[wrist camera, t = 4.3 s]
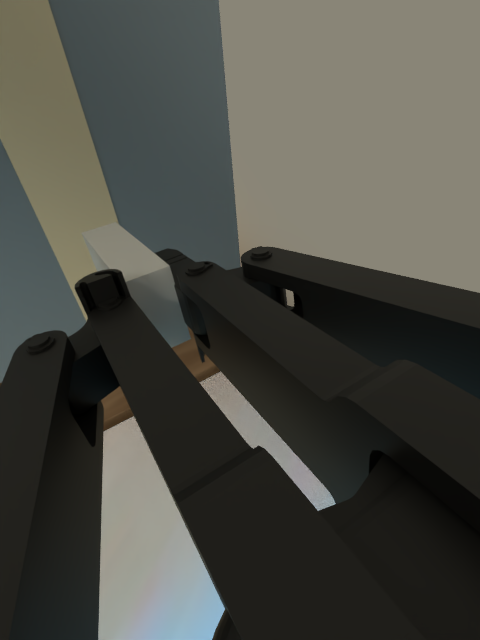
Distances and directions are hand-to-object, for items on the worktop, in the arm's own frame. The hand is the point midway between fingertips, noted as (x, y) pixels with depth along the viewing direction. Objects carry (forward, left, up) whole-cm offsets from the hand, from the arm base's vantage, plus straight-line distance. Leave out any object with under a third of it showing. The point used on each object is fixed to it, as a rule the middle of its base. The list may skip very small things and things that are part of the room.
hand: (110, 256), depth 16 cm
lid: (-5, +5, +1) cm, 8 cm away
